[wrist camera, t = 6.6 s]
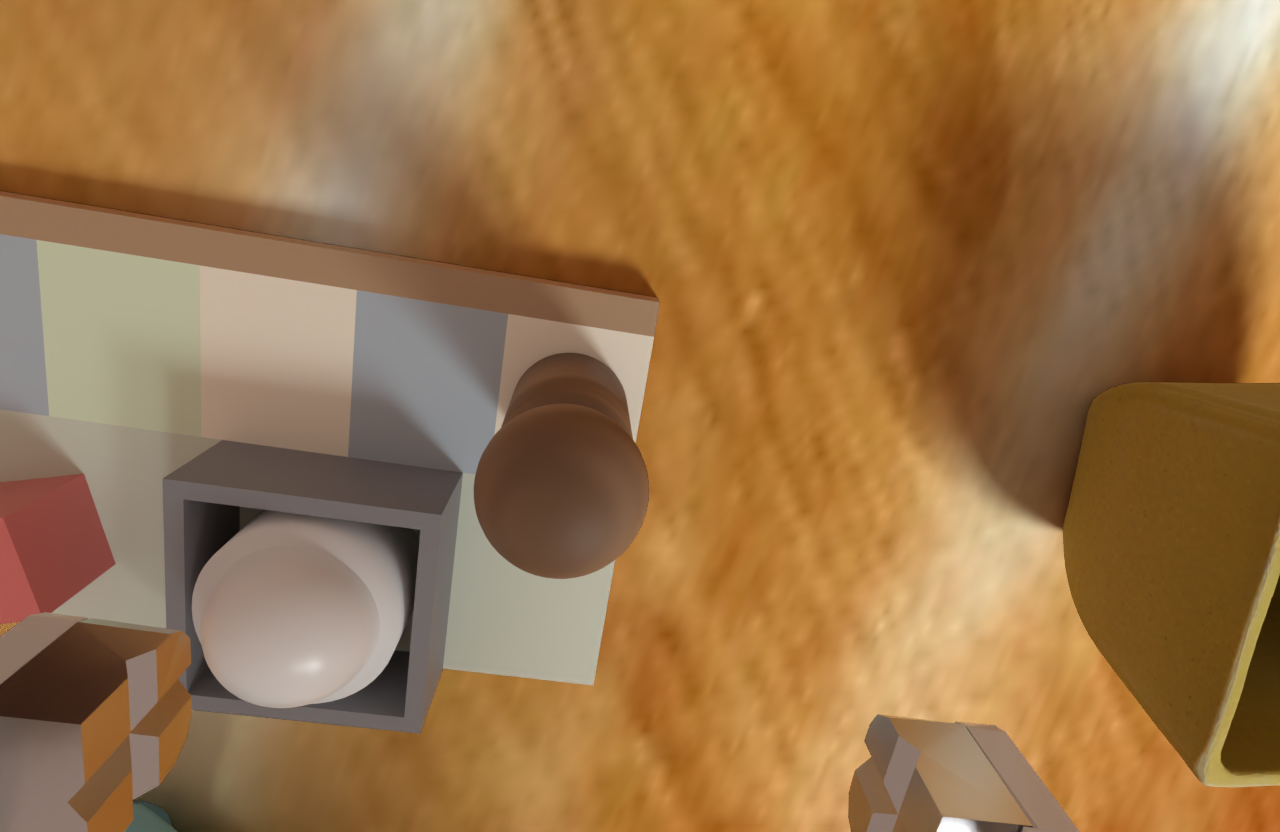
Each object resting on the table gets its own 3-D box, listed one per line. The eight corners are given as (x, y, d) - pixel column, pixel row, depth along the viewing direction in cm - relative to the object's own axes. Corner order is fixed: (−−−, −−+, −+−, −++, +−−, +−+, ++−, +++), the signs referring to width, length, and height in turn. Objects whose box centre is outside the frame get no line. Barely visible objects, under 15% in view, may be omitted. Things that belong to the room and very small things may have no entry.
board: (657, 297, 22) (668, 320, 18) (593, 666, 25) (591, 751, 21) (-103, 174, 20) (-275, 169, 16) (-51, 592, 23) (-180, 671, 20)
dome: (432, 496, 22) (380, 587, 17) (418, 649, 23) (367, 773, 18) (246, 471, 21) (136, 557, 16) (244, 630, 23) (143, 751, 18)
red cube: (83, 473, 21) (2, 517, 18) (115, 564, 22) (42, 618, 19) (-19, 484, 21) (-117, 529, 18) (17, 574, 22) (-70, 631, 19)
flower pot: (1239, 584, 25) (1561, 785, 17) (996, 588, 25) (1200, 795, 16) (1310, 338, 23) (1734, 427, 14) (1041, 337, 22) (1310, 427, 14)
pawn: (647, 361, 21) (677, 461, 14) (617, 479, 22) (630, 629, 15) (518, 332, 20) (478, 419, 13) (493, 454, 22) (444, 597, 14)
